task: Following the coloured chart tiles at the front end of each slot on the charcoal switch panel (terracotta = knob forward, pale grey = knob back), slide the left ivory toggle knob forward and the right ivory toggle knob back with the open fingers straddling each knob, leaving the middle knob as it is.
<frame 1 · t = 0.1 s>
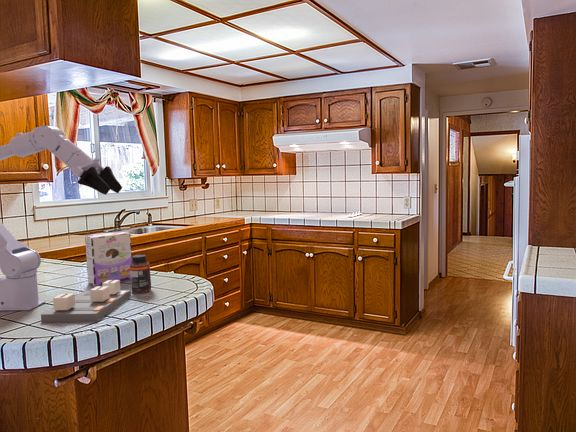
hand: (114, 191, 125), 32 cm above the countertop, tool tilted 50°, fingers open, 7 cm apart
supplement bottle: (141, 292, 143), on the countertop
knob c: (111, 286, 132), point 4 cm above the countertop, slide at 6.0 cm
candy box: (111, 281, 158), on the countertop
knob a: (64, 301, 118), point 4 cm above the countertop, slide at 0.0 cm
knob b: (100, 293, 125), point 4 cm above the countertop, slide at 6.0 cm
panel: (90, 308, 125), on the countertop
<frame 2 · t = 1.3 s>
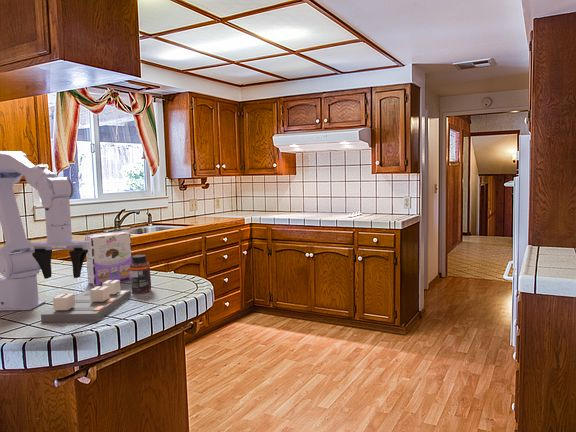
hand: (62, 277, 117), 10 cm above the countertop, tool pointing down, fingers open, 7 cm apart
nothing on the countertop moved.
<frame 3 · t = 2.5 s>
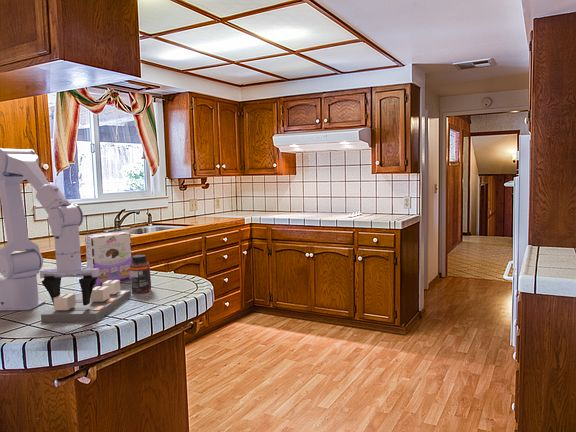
hand: (71, 304, 118), 3 cm above the countertop, tool pointing down, fingers open, 7 cm apart
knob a: (64, 301, 118), point 4 cm above the countertop, slide at 0.2 cm, touching gripper
everything else where it was.
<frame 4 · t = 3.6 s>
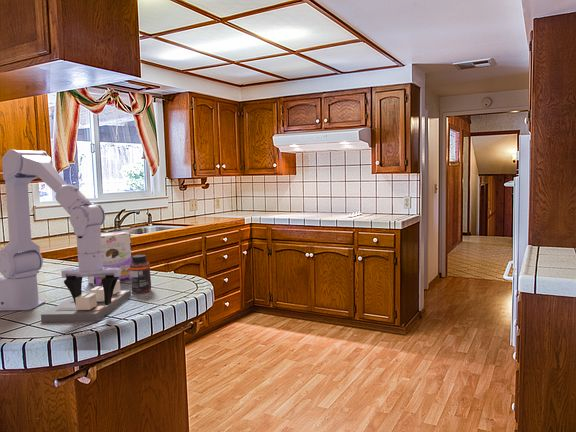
hand: (93, 304, 118), 3 cm above the countertop, tool pointing down, fingers open, 7 cm apart
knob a: (86, 301, 118), point 4 cm above the countertop, slide at 5.8 cm, touching gripper
everything else where it was.
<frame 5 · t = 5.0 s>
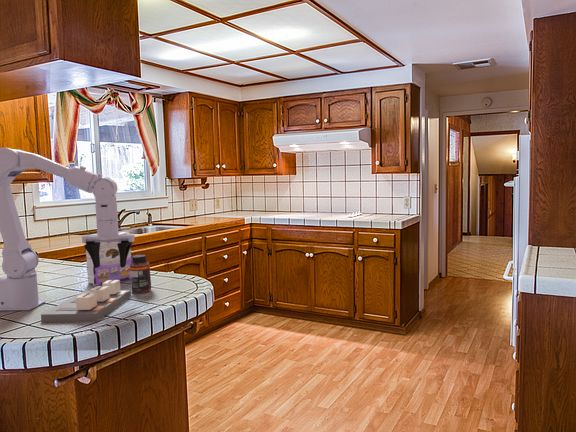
hand: (110, 267, 132), 10 cm above the countertop, tool pointing down, fingers open, 7 cm apart
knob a: (86, 301, 118), point 4 cm above the countertop, slide at 5.8 cm
everything else where it was.
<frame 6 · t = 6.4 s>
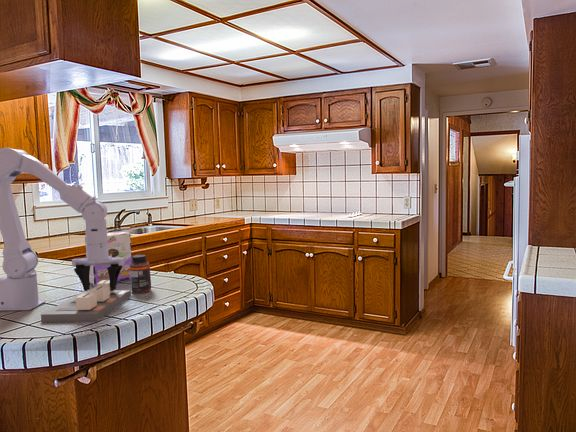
hand: (100, 290, 133), 3 cm above the countertop, tool pointing down, fingers open, 7 cm apart
knob c: (106, 286, 133), point 4 cm above the countertop, slide at 4.4 cm, touching gripper
everything else where it was.
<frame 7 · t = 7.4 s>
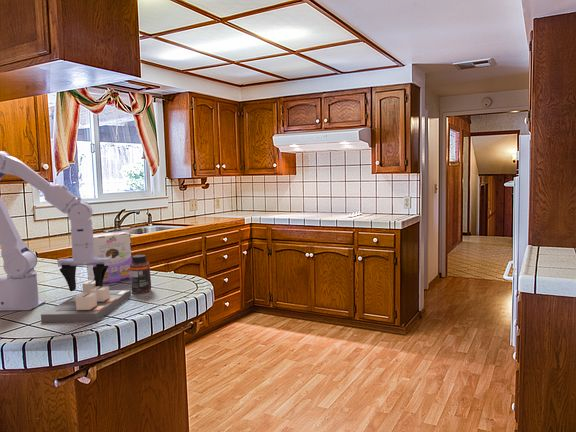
hand: (85, 290, 133), 3 cm above the countertop, tool pointing down, fingers open, 7 cm apart
knob c: (91, 287, 133), point 4 cm above the countertop, slide at 0.2 cm, touching gripper
everything else where it was.
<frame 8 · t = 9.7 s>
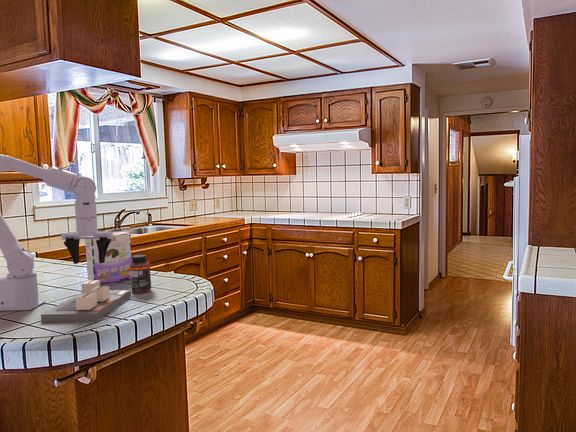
hand: (89, 263, 136), 10 cm above the countertop, tool pointing down, fingers open, 7 cm apart
knob c: (91, 287, 133), point 4 cm above the countertop, slide at 0.0 cm
everything else where it was.
at the end: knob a slide at 5.8 cm; knob c slide at 0.0 cm; knob b slide at 6.0 cm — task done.
